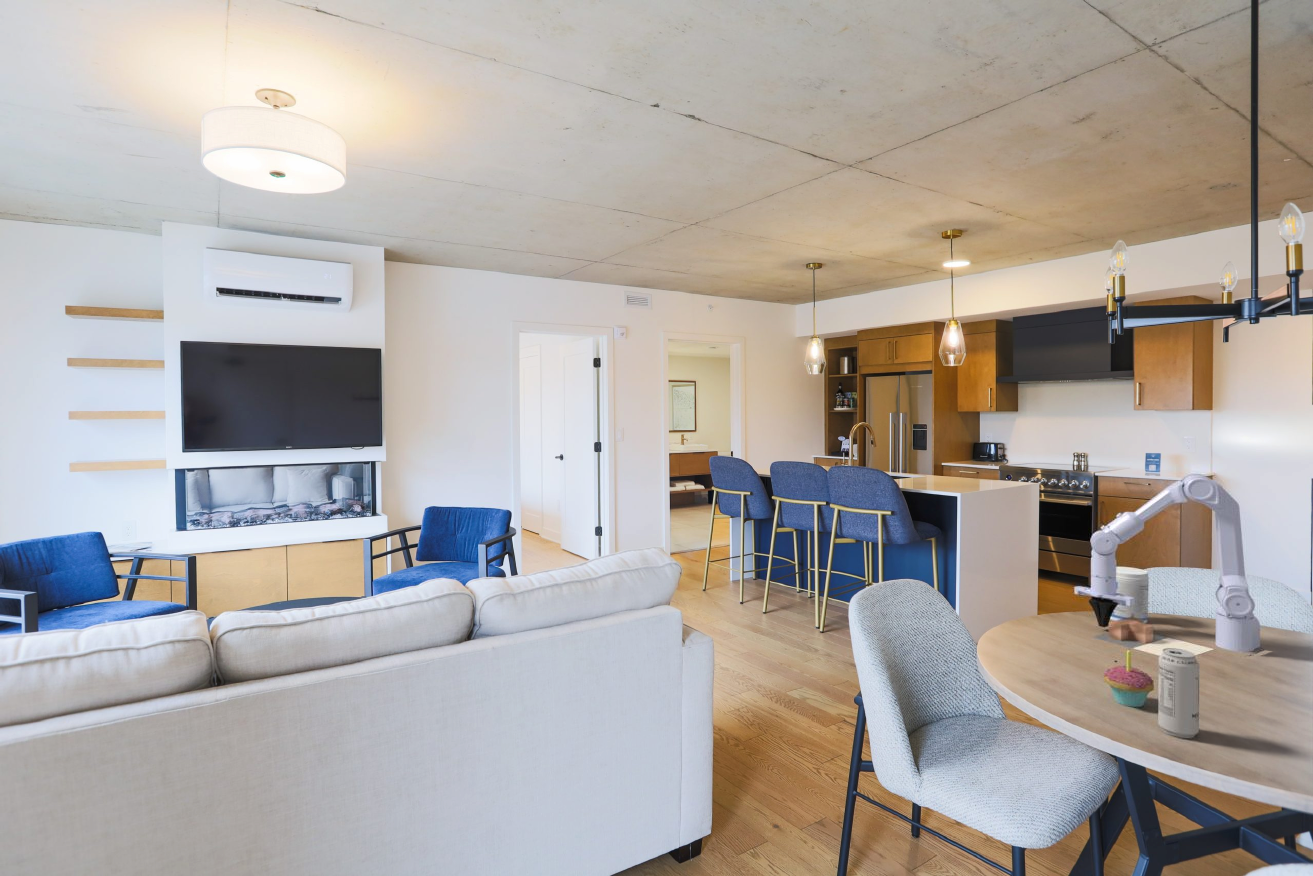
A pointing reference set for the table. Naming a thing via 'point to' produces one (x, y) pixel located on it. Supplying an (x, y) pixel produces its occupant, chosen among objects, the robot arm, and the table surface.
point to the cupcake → (1129, 684)
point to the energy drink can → (1178, 693)
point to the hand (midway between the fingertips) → (1103, 626)
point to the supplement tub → (1132, 593)
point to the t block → (1131, 630)
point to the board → (1157, 644)
